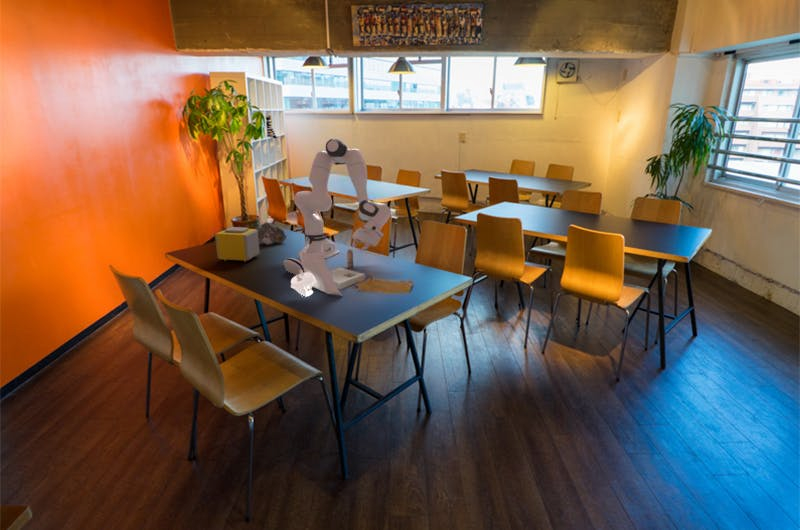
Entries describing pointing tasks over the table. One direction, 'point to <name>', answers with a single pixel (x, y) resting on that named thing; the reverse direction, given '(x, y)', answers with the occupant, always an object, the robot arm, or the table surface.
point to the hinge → (293, 266)
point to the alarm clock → (237, 243)
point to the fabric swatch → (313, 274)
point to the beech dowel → (350, 258)
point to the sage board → (346, 277)
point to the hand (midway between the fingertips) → (357, 248)
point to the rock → (271, 233)
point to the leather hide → (384, 286)
